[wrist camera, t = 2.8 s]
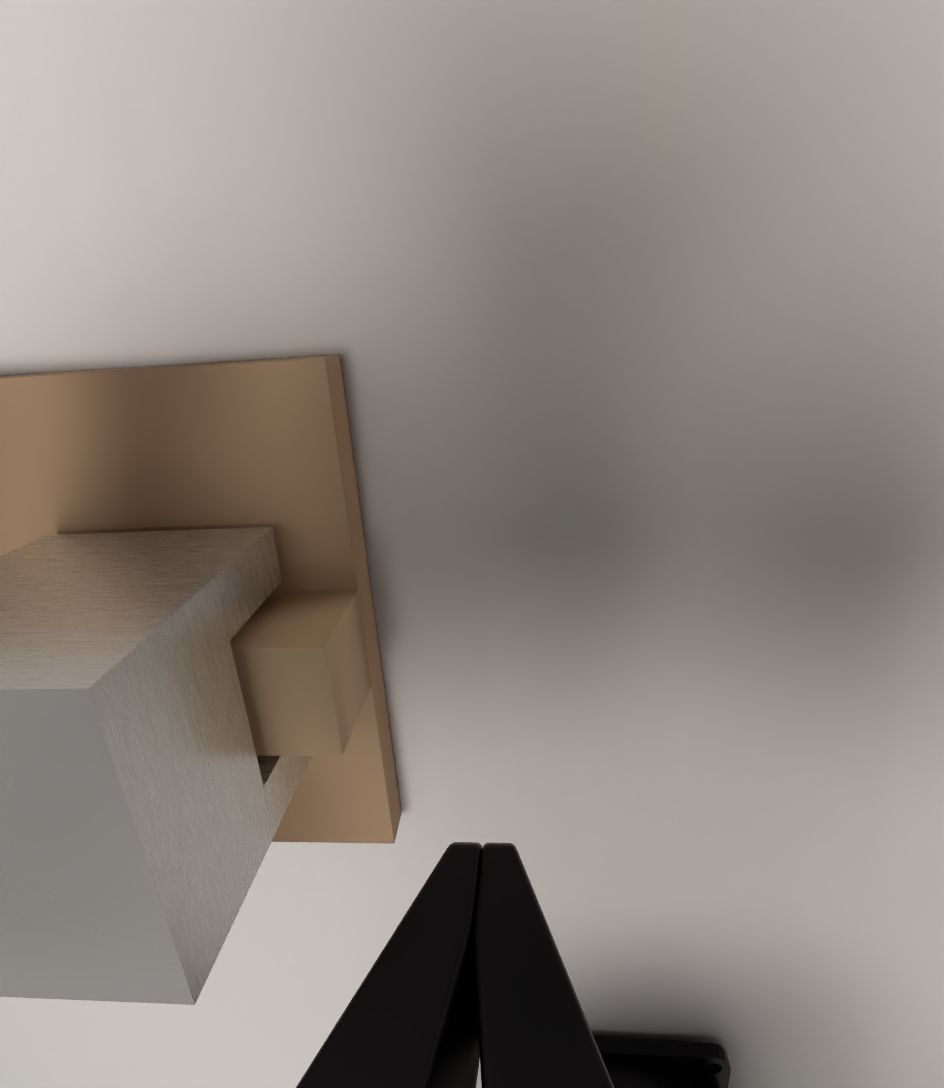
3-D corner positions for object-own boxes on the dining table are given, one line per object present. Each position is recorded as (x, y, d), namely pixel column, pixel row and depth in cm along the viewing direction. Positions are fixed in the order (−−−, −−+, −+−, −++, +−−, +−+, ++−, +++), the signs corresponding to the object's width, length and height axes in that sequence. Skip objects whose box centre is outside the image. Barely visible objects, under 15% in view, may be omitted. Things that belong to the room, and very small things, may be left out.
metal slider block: (272, 526, 13) (88, 689, 7) (314, 749, 15) (194, 1005, 9) (44, 535, 13) (-284, 692, 8) (115, 749, 15) (-107, 991, 10)
